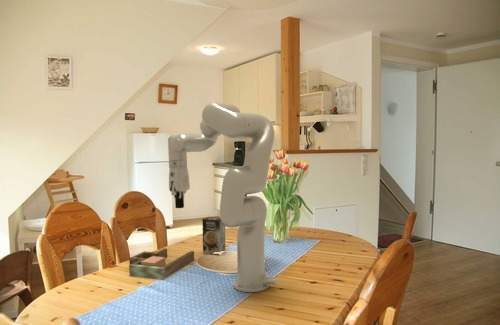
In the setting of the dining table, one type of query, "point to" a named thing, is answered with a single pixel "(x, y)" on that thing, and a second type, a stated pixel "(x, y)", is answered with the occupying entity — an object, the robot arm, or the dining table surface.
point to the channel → (157, 272)
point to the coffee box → (213, 235)
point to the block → (154, 261)
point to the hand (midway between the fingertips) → (179, 207)
